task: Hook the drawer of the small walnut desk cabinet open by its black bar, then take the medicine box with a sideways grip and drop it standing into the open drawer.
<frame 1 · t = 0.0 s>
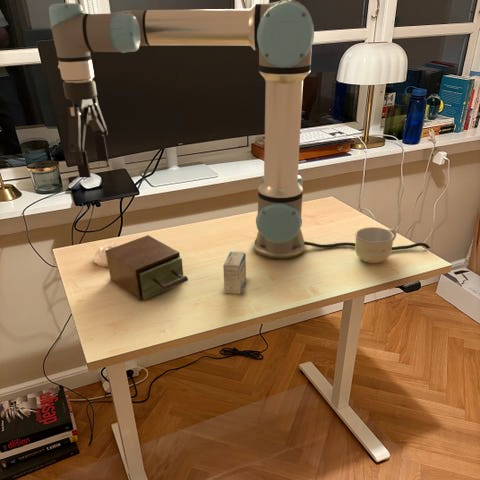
hand: (94, 168, 129), 28 cm above the table, tool pointing down, fingers open, 13 cm apart
teacup: (375, 257, 146), on the table
medicine box: (235, 287, 133), on the table
drawer: (155, 273, 130), point 5 cm above the table, slide at 0.5 cm
rose: (110, 260, 147), on the table
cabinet: (146, 281, 136), on the table
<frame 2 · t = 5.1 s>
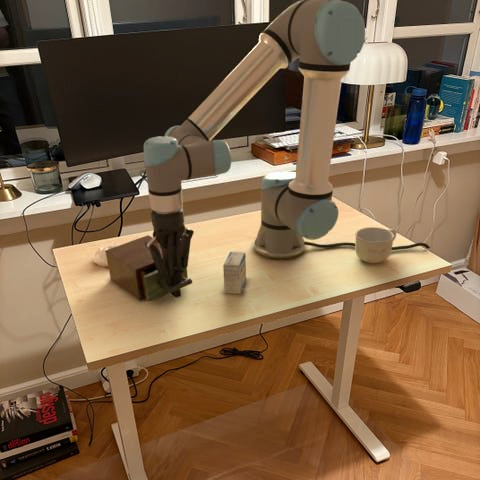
hand: (175, 294, 126), 2 cm above the table, tool pointing down, fingers closed
drawer: (159, 276, 129), point 5 cm above the table, slide at 2.4 cm, touching gripper
everything else where it was.
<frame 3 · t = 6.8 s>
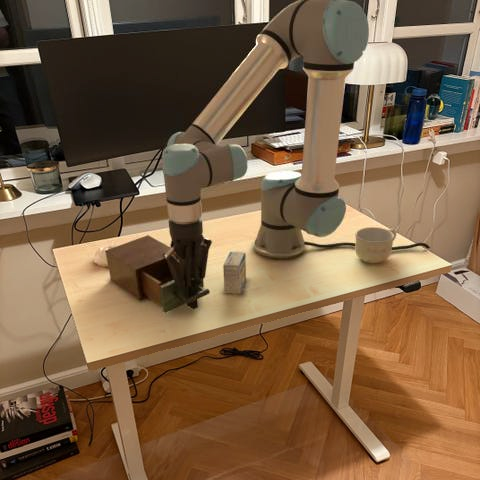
hand: (192, 306, 122), 2 cm above the table, tool pointing down, fingers closed
drawer: (175, 285, 125), point 5 cm above the table, slide at 9.3 cm
everything else where it was.
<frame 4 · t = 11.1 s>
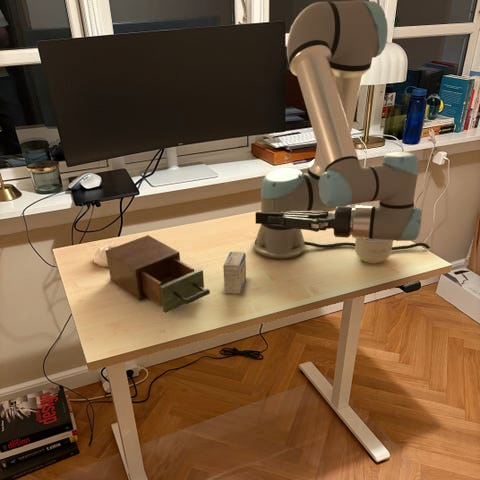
hand: (256, 217, 123), 19 cm above the table, tool horizontal, fingers closed
nothing on the table moved.
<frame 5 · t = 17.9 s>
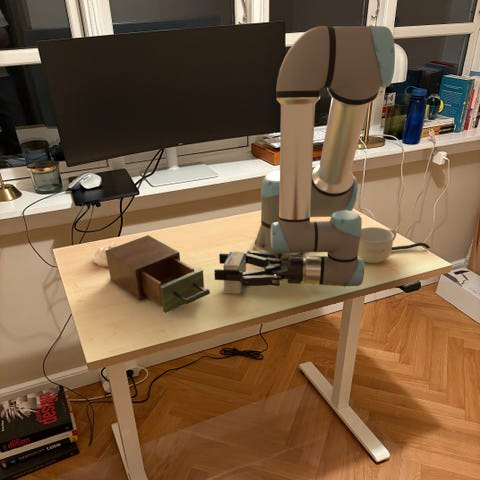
hand: (217, 266, 130), 6 cm above the table, tool horizontal, fingers closed on medicine box, 8 cm apart
medicine box: (235, 287, 133), on the table, touching gripper
everything else where it was.
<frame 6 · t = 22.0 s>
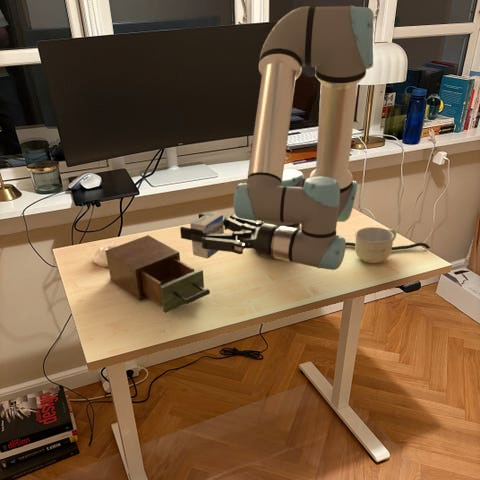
hand: (190, 225, 120), 19 cm above the table, tool horizontal, fingers closed on medicine box, 8 cm apart
medicine box: (208, 251, 122), point 13 cm above the table, touching gripper
everything else where it was.
when the fingers open (11 cm above the table, at t = 26.2 s): medicine box drops 3 cm, resting on drawer.
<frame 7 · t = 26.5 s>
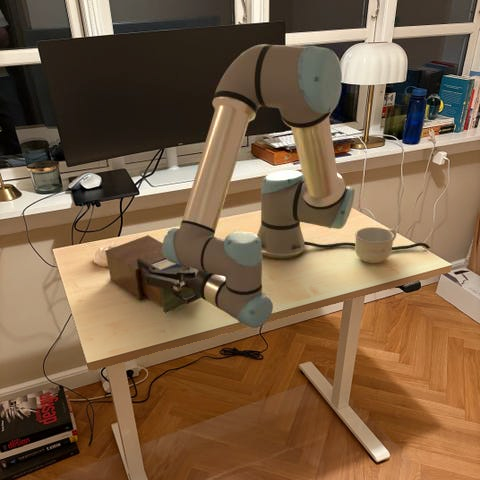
hand: (159, 255, 124), 11 cm above the table, tool horizontal, fingers open, 12 cm apart
medicine box: (172, 292, 127), point 2 cm above the table, touching drawer
drawer: (175, 286, 125), point 5 cm above the table, slide at 9.4 cm, touching medicine box
everything else where it was.
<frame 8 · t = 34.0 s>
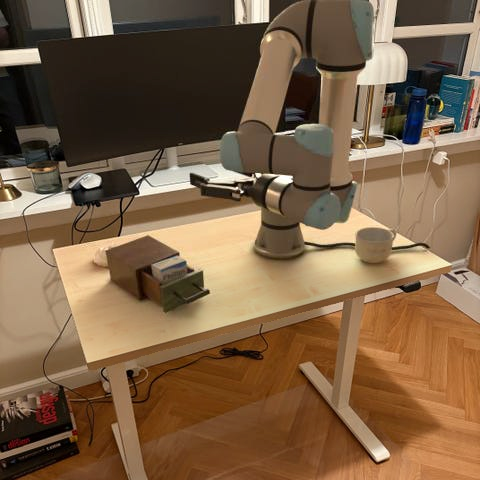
hand: (212, 171, 120), 30 cm above the table, tool horizontal, fingers open, 13 cm apart
nothing on the table moved.
at the end: drawer slide at 9.4 cm; medicine box 0.1 cm from the target spot in the drawer, point 1.9 cm above the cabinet's base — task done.
